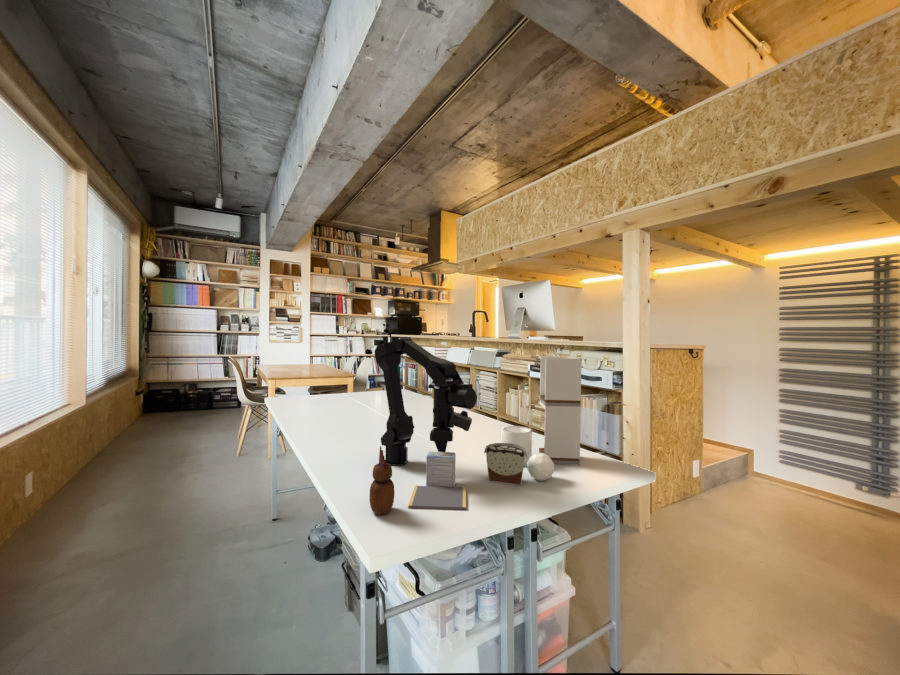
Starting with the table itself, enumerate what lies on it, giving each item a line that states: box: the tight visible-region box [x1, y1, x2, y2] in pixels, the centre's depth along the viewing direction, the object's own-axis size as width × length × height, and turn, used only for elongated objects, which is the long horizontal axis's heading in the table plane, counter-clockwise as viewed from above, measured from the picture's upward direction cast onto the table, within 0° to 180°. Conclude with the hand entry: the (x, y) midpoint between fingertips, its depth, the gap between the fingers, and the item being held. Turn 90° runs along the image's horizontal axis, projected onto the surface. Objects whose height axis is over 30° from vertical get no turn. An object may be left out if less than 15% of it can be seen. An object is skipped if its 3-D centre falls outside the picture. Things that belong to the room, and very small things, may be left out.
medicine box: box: [425, 451, 457, 487], centre depth 106 cm, size 8×4×9 cm, turn 84°
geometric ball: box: [526, 452, 555, 481], centre depth 111 cm, size 8×8×8 cm
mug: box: [500, 425, 533, 467], centre depth 128 cm, size 14×10×11 cm
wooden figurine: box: [369, 445, 395, 516], centre depth 89 cm, size 7×6×15 cm
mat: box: [407, 485, 467, 511], centre depth 97 cm, size 14×12×1 cm
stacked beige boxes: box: [538, 355, 582, 466], centre depth 129 cm, size 11×11×35 cm
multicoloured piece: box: [483, 442, 527, 486], centre depth 110 cm, size 12×6×10 cm, turn 71°
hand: (442, 457), depth 110 cm, fingers closed
